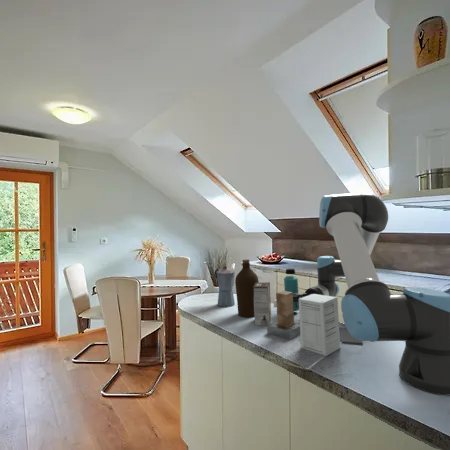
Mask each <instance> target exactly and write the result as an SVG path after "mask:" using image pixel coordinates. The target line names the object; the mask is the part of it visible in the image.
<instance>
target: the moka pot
mask: <svg viewBox="0 0 450 450" xmlns="http://www.w3.org/2000/svg"><path fill="white" fill-rule="evenodd" d="M223 268H224V269H220V268H218V267H217V268H216V270H215V272H214V274H215V280H216V284H217V285H216V286H218V296H217V306H219V307H222V306H230V307H233V306H235V304H236V303H235V297H234V284H235V275H236V272H235V270H233V269H227V268H228V267H227V266H226V265H225V266H223ZM232 305H233V306H232Z"/></svg>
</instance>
